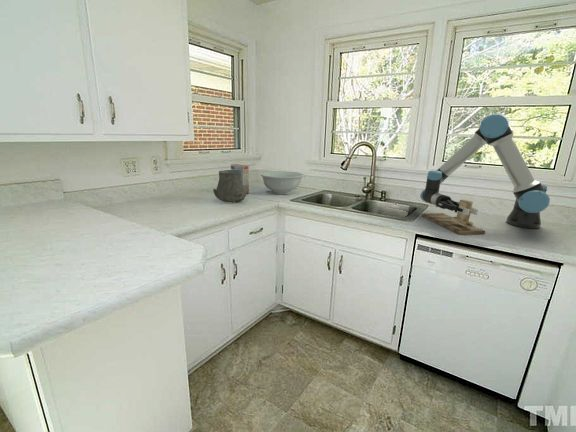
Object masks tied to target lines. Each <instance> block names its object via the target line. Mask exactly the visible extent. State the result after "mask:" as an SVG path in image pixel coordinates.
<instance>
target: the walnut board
mask: <svg viewBox="0 0 576 432" xmlns="http://www.w3.org/2000/svg"><path fill="white" fill-rule="evenodd" d="M420 215H421V216H420V217H422V218H424V219H427V220H428V221H429V222H430V221H431V222H433V223H434V224H437V225H439V226H441V227H443V228H444V229H447V230H449V231H451V232H452V233H455V234H458V235H462V236H463V235H485V234H486V230H484V229H482V228H480V227H477V226H474V225H473V226H463V225H460V224H458V223H456V222H453V221H451V220H452V217H453V216H450V215H448V214H446V213H444V212H431V213H430V212H427V213H426V212H423V213H421V214H420Z"/></svg>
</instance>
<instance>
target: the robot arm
mask: <svg viewBox="0 0 576 432" xmlns="http://www.w3.org/2000/svg"><path fill="white" fill-rule="evenodd" d="M509 122H510V120H509V118H508V117H507V116H506V115H504V114H503V113H492V114H491V113H490V114H488V115H487V116H486V117H484V118H483V120H481V122H480V124H479V127H478V129H477V130H476V131H475V132H474V135H473V136H472V137H471V138H470V139H469V140H467V142H465V143H464V144H463V145H462V146H461V147H459V149H458V150H457V151H456V152H455V153H454V154H453V155H451V157H449V158H448V159H447V160H446V161H445V162H444V163H443V164H442V165H441V166H440V167H439V168H437V169H436V170H433V169H432V170H429V171H428V172H427V176H426V184H425V188H424V190H422V191H421V193H420V199H421V200H422V201H423V202H424V203H427V204H430V205H432V206H435V207H436V208H440V209H443V210H449V211H451V212H453V211H454V213H456V214H457V213H458V212H461V213H463V214H466V215H469V211H470V210H469V209H466V208H463V207H461V206H459V203H460V201H455V200H453V199H452V197H450V196H448V195H446V194H444V193H443V194H442V193H440V187H441V184H442V183H443V182H445V180H447V178H449V177H450V176H451V175H452V174H453V173H454V172H455V171H456V170H457V169H459V168H460V167H461V166H462V165H463V164H464V163H465V162H467V161H468V160H469V159H470V158H471V157H472V156H474V154H476V153H477V152H478V151H479V150H480V149H481V148H482V147H484V146H485V145H488V146H492V147H493V150H494V151H495V154H497V157H498V159H499V161H500V162H501V165H502V167H503V168H504V170H505V172H506V174H507V176H508V178H509V180H510V182H511V184H512V185H513V187H514V188H513V189H512V194H513V195H514V197H515V201H514V204H513V209H511V212H510V213H509V214H508V216H507V218H506V220H505V222H506V223H507V224H509V225H512V226H514V227H515V226H516V227H520V228H526V229H533V230H534V229H536V230H537V229H540V228H541V226H542V220H541V212H543V211H544V210H546V209H547V208H548V207H549V205H550V202H551V201H550V196H549V195H548V194H547V191H548V186H547V185H546V184H542V183H541V181H540V180H535V178H534V177H533V174H532V172H531V171H530V169H529V167H528V165H527V162H526V161H525V159H524V157H523V155H522V154H521V152H520V149H519V147H518V145H517V144H516V142H515V140H514V138H513V137H514V134H515V132H514V130H513V128H512V126H511V124H510V123H509ZM478 212H479V209H477V208H474V207H472V208H471V213H470V214H473V215H476V216H477V215H478Z"/></svg>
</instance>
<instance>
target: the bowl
mask: <svg viewBox="0 0 576 432" xmlns="http://www.w3.org/2000/svg"><path fill="white" fill-rule="evenodd" d="M260 176H261V177H262V180H263V181H262V182H263V185H264V186H265V187H266V188H267V189H268V190H270V191H271V193H272V194H275V195H290V194H292V193H293V191H294V190H296V189H297V188H299V187H300V185H301V181H302V178H303V177H304V174H303V173H301V172H297V171H295V172H294V171H286V170H285V171H283V170H282V171H281V170H279V171H278V170H277V171H276V170H274V171H271V170H270V171H264V172H261V173H260Z"/></svg>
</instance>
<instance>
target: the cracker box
mask: <svg viewBox="0 0 576 432" xmlns="http://www.w3.org/2000/svg"><path fill="white" fill-rule="evenodd" d="M230 170H240V171H242V174H241V179H242V184H243V187H244V190H245V194H246V195H248V194H250V193H249V191H250V189H249V187H250V182H249V180H250V179H249V178H250V177H249V175H250V173H249V171H250V170H249V165H246V164H238V163H232V164H230Z"/></svg>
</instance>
